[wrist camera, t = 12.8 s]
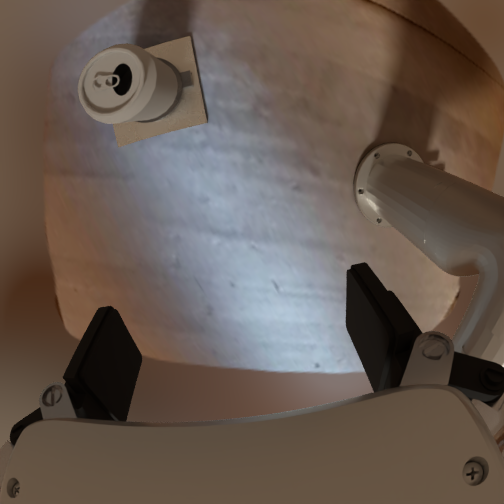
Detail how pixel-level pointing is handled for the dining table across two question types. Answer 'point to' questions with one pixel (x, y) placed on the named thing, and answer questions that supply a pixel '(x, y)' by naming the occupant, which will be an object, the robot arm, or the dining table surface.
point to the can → (126, 85)
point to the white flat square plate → (185, 104)
